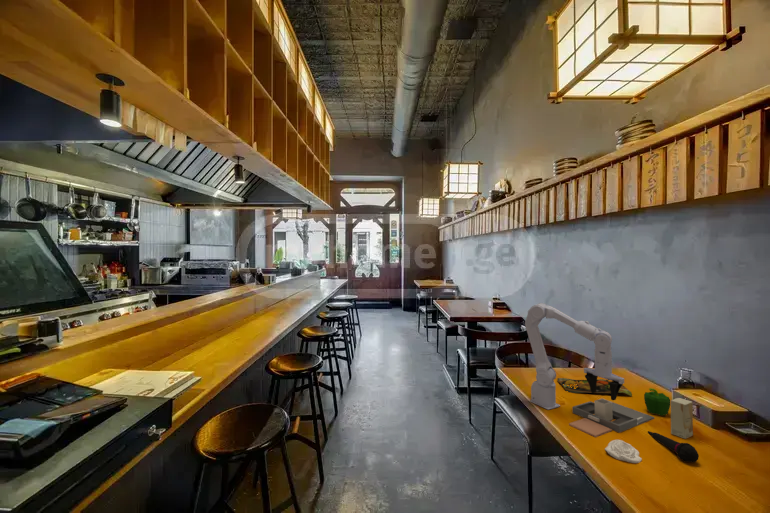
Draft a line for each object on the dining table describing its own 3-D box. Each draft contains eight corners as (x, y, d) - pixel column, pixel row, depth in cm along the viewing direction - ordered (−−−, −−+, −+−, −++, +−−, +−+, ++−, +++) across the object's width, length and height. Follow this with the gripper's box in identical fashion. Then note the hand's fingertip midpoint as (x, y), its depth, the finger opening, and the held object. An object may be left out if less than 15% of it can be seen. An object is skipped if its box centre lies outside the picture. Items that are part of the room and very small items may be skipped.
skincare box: (685, 439, 117) (684, 404, 118) (670, 434, 121) (669, 400, 121) (693, 435, 120) (693, 401, 121) (678, 429, 124) (678, 396, 124)
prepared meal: (567, 386, 159) (555, 372, 177) (567, 393, 159) (555, 379, 177) (633, 392, 153) (614, 378, 171) (633, 400, 153) (614, 385, 171)
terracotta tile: (569, 425, 128) (569, 423, 128) (585, 419, 132) (585, 417, 132) (595, 437, 119) (595, 435, 119) (611, 430, 123) (611, 429, 123)
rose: (620, 432, 114) (649, 447, 105) (620, 445, 114) (649, 461, 105) (597, 436, 112) (625, 452, 102) (597, 449, 112) (626, 467, 102)
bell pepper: (671, 413, 138) (670, 388, 138) (670, 420, 132) (669, 394, 132) (645, 407, 144) (645, 383, 144) (643, 413, 138) (643, 389, 138)
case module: (594, 418, 134) (594, 400, 134) (602, 415, 136) (602, 398, 136) (605, 422, 130) (604, 404, 130) (612, 419, 132) (612, 401, 132)
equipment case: (571, 413, 138) (571, 407, 138) (607, 401, 149) (607, 396, 149) (617, 433, 122) (617, 426, 122) (654, 418, 133) (654, 412, 133)
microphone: (644, 442, 122) (689, 468, 102) (637, 426, 123) (681, 449, 103) (659, 437, 122) (707, 463, 102) (652, 421, 123) (698, 444, 103)
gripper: (628, 365, 128) (629, 400, 128) (591, 356, 141) (591, 388, 141) (618, 368, 125) (618, 404, 125) (580, 358, 138) (580, 391, 138)
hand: (603, 396), depth 133 cm, fingers open, 7 cm apart
